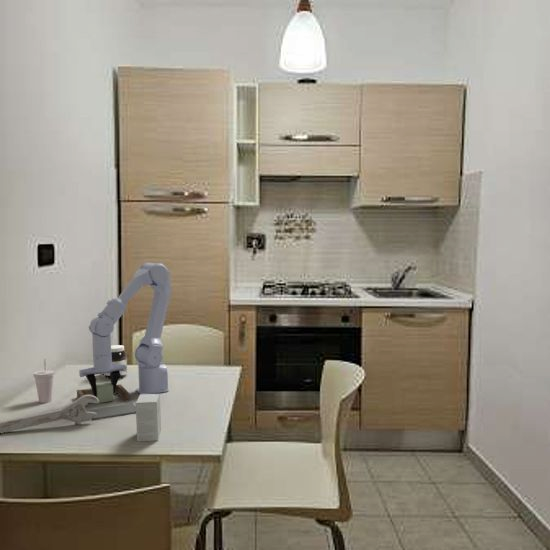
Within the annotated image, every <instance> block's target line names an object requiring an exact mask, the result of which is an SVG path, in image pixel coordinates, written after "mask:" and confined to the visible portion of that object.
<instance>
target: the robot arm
mask: <svg viewBox="0 0 550 550" xmlns="http://www.w3.org/2000/svg"><path fill="white" fill-rule="evenodd" d="M170 273H171V271H170V270H169V269H168V268H167V267H166V265H164V263H159V262H157V263H156V262H155V263H153V262H144V263H142V264H141V265H140V267H139V268H138V269H137V270H136V271H135V273H134V275H133V277H132V278H131V280H130V281H128V283H127V285H126V286H125V288H124V289H123V290H122V292H121V293H120V294H119V296H118V297H115V298H114V297H113V298H111V299H110V300H107V302H106V306H105V307H104V308H103V310H102V311H101V312H98V314H97V317H94V318H92V319H91V321H90V324H89V326H88V331H89V332H91V336H92V357H93V363H92V364H93V367H89V368H84V369H83V368H82V369H79V370H78V372H79V373H78V374H79V378H84V377H86V379H87V381H88V383H89V385H90V388H92V391H93V396H95V397H97V391H96V384H97V377H96V375H101V374H104V373H110V379H109V380H110V383H111V384H112V385H113V396H114V395H116V393H115V388H116V385H118V382H119V380H120V379H119V378H120V371H123V372H124V371H126V365H125V364H124V365H112V355H111V346H112V340H111V338H112V337H111V334H112V333H113V332H114V329H115V326H114V325H116V323H117V322H118V321H119V319H120V318H121V317H122V315H123V314H124V313H125V312H126V310H127V304H128V303H129V302H130V300H131V299H132V298H133V297H134V296H135V295H136V294H137V293H138V292H139V291H140V290H141V288H143V287H145V286H148V285H150V287H151V288H152V289H153V291H154V294H153V297H152V303H151V307H150V312H149V315H148V321H147V324H146V329H145V333H144V336H143V337H142V338H141V339H140V341H139V344H138V346H137V347H136V349H135V351H134V357H135V359H136V361H137V363H138V365H137V366H138V367H137V368H138V388H135V391H136V392H137V393H139V395H140V394H160V393H166V392H169V381H168V379H169V377H168V376H169V375H168V367H167V365H166V363H165V364H164V363H162V362H163V359H164V355H163V348H164V345H163V342H162V340H161V337H162V333H163V329H164V324H165V320H166V316H167V311H168V306H169V304H170V303H169V302H170V298H171V295H172V286H171V280H170ZM161 363H162V364H161Z"/></svg>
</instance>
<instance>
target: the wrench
mask: <svg viewBox="0 0 550 550" xmlns="http://www.w3.org/2000/svg"><path fill="white" fill-rule="evenodd" d="M89 403H94V404H100V403H99V400H98V398H97V397H95V396H93V395H90V394H89V395H84V396H81V397H80V398H79V399H78V398H77V399H76V400H74V401H73V402H71V403H70V404H68V405H66V406H64V407H61V408H60V409H55V410H50V411H45V412H40V413H36V414H30V415H26V416H21V417H20V416H19V417H16V418H12V419H7V420H6V419H5V420H2V421H0V433H1V434H5V433H10V432H12V431H18V430H22V429H25V428H31V427H34V426H39V425H43V424H47V423H52V422H57V421H61V420H64V421H65V420H66V421H71V422H74V425H76V426H78V425H79V426H81V424H82V423H83V422H89V421H90V420H92V418H94V417H95V416H96V415H97V413H95V412H87V410H86V407H85V406H86V405H87V406H88V404H89ZM4 432H5V433H4Z"/></svg>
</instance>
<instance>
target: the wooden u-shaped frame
mask: <svg viewBox="0 0 550 550" xmlns="http://www.w3.org/2000/svg"><path fill="white" fill-rule="evenodd" d="M89 394H90V395H93V391H92V388H91V387H89V388H84V389H77V390H76V397H77V399H79V398H80V397H81V396H84V395H89ZM115 394H119V395H120V397H121V398H122V400H124V401H125V402H128V401H130V392H129V391H128V390H127V389H126V388H125V387H124V386H123V385H122V384H121V383H120V384H117V385H116V388H115ZM86 407H88V404H87V405H86V406H85V407H84V408H86Z"/></svg>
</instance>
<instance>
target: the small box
mask: <svg viewBox="0 0 550 550" xmlns="http://www.w3.org/2000/svg"><path fill="white" fill-rule="evenodd" d="M135 406H136V413H135V421H136V424H135V425H136V441H137V443H138V442H139V443H140V442H156V441H159V437H160V434H161V432H162V419H161V418H162V414H161V413H162V410H161V394H160V393H154V394H140V393H139V396H138V398H137V399H136V402H135Z"/></svg>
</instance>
